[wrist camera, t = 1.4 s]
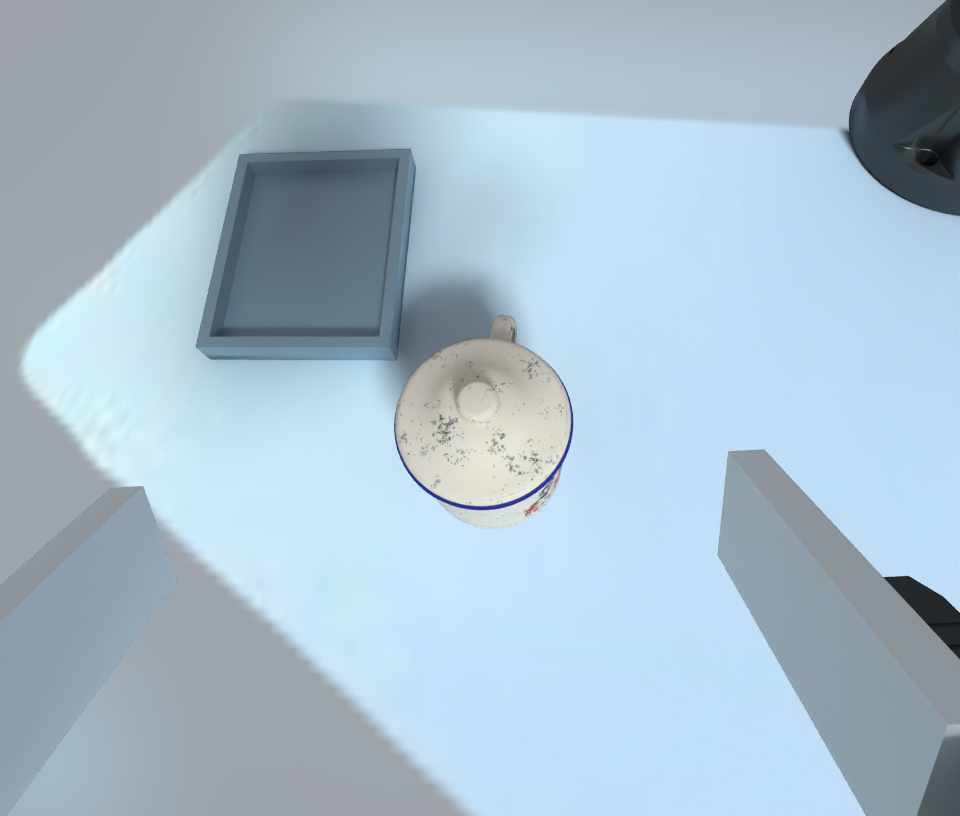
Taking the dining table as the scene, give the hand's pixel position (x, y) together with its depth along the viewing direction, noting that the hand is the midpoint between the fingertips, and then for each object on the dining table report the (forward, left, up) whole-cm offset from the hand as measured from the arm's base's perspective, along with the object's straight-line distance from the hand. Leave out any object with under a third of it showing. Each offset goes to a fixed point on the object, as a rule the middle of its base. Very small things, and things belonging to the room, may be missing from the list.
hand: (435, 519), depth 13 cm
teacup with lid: (0, -9, -23) cm, 25 cm away
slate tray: (+14, -23, -23) cm, 35 cm away
